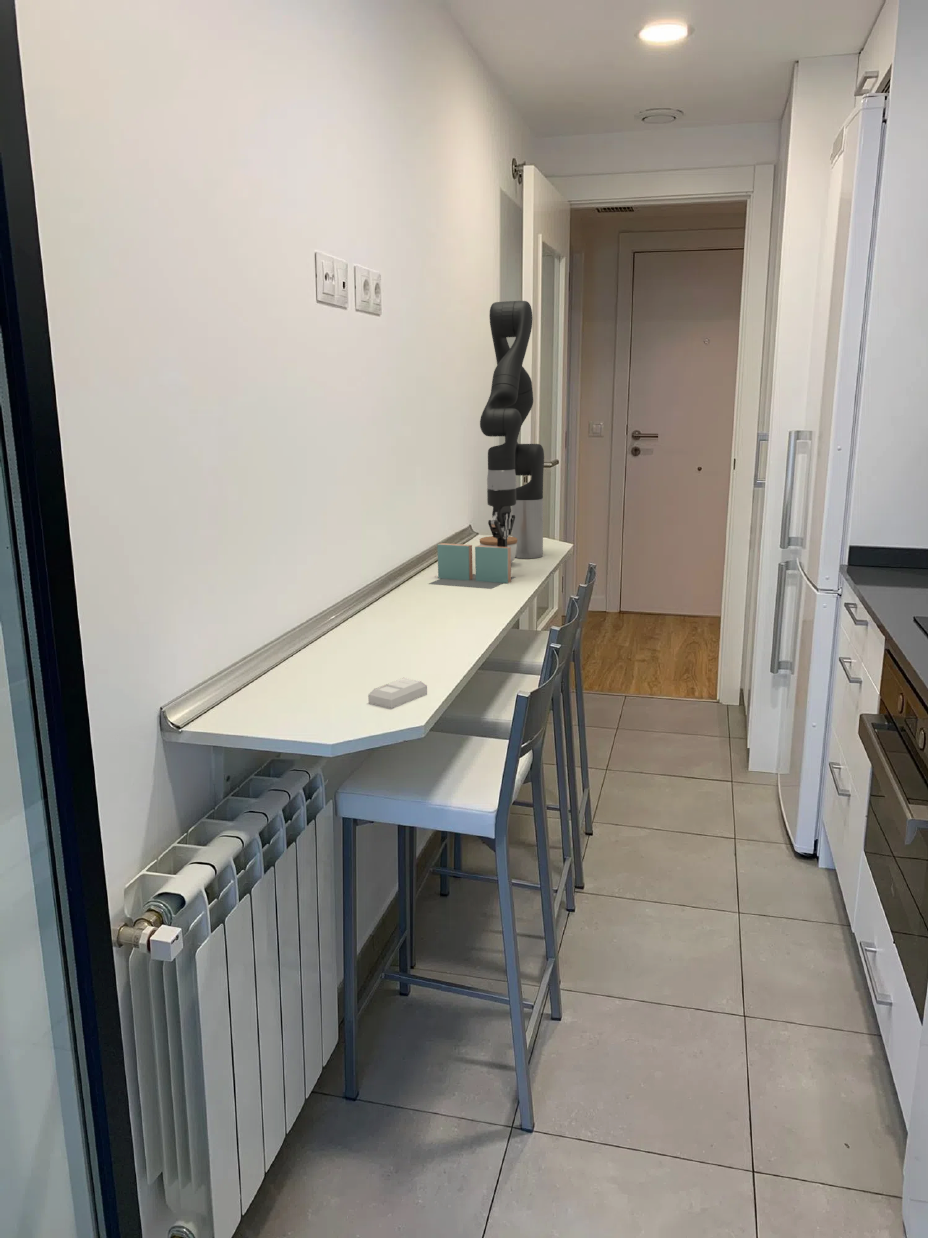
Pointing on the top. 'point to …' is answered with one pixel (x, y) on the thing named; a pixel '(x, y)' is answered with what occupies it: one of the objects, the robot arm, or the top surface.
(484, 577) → the tile
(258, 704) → the top surface
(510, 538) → the lidded jar
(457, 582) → the mat
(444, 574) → the tile
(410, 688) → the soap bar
